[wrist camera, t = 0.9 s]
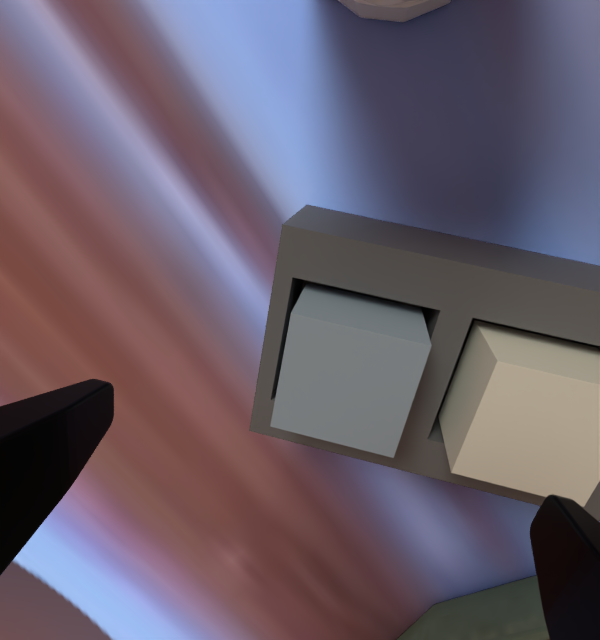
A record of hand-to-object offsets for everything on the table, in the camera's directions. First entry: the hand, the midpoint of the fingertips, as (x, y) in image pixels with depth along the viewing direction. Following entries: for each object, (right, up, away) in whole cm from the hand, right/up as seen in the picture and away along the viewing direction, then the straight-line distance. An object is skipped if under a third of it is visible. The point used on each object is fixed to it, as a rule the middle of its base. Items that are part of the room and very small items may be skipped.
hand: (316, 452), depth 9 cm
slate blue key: (+2, +2, +7) cm, 7 cm away
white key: (+7, 0, +6) cm, 10 cm away
